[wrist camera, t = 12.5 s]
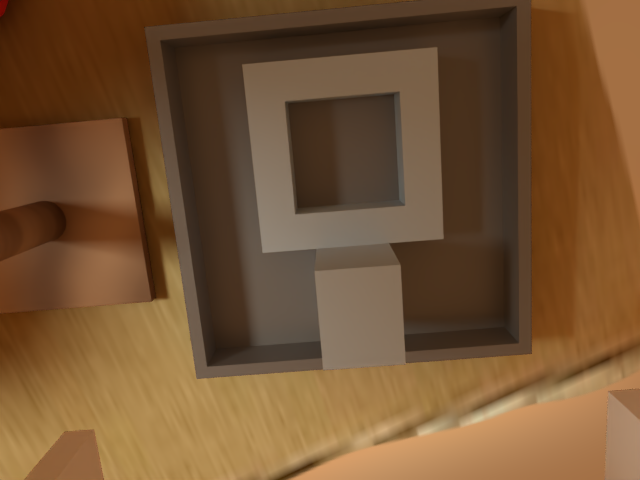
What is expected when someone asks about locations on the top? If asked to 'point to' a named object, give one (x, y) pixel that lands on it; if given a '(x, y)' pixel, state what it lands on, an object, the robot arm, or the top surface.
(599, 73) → the top surface
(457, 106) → the tray
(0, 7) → the apple
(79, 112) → the top surface
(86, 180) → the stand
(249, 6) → the top surface
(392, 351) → the ring
